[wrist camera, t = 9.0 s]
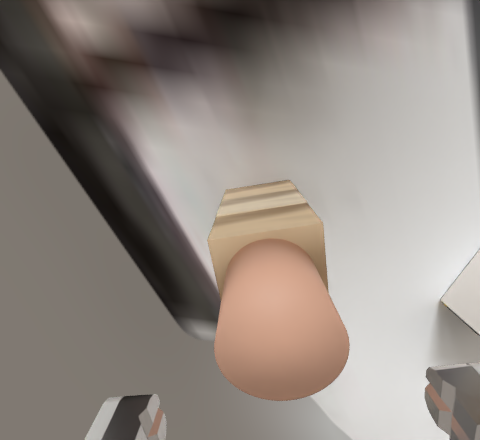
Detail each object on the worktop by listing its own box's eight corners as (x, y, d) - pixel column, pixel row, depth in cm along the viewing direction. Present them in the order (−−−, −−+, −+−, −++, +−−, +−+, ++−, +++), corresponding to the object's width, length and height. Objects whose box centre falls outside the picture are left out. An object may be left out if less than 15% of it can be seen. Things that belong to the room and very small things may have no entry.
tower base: (225, 189, 25) (221, 200, 22) (289, 179, 25) (296, 188, 21) (236, 247, 27) (234, 266, 24) (295, 239, 27) (303, 257, 23)
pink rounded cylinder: (217, 244, 14) (202, 301, 9) (313, 232, 14) (347, 285, 9) (233, 322, 16) (226, 405, 11) (319, 313, 15) (351, 394, 11)
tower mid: (221, 200, 22) (216, 215, 18) (296, 189, 21) (307, 201, 17) (234, 266, 24) (231, 292, 20) (303, 257, 23) (314, 282, 19)
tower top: (216, 216, 18) (207, 240, 14) (306, 202, 17) (322, 222, 14) (232, 293, 20) (228, 332, 16) (314, 282, 19) (330, 320, 16)
